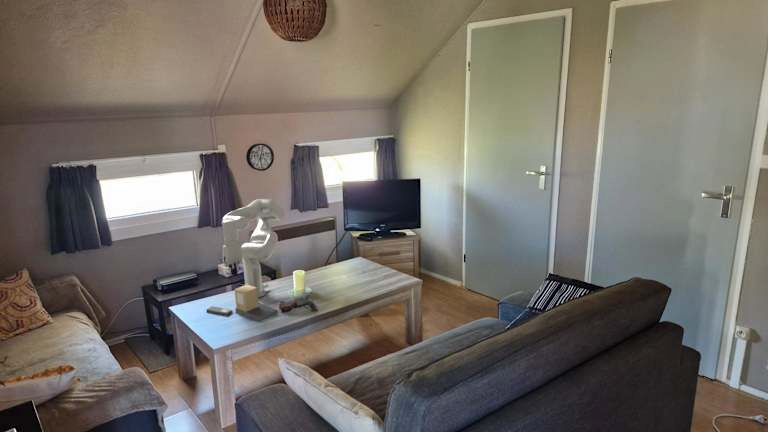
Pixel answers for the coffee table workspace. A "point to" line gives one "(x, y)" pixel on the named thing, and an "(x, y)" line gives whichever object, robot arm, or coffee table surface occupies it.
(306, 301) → the toy gun
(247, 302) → the carton
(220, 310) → the remote
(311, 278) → the coffee table surface
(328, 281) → the coffee table surface
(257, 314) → the podium
